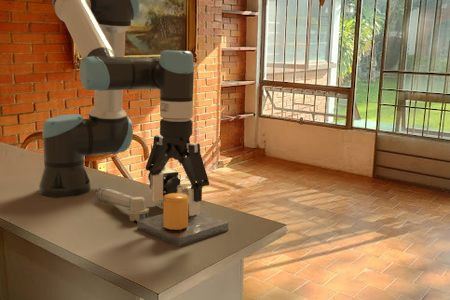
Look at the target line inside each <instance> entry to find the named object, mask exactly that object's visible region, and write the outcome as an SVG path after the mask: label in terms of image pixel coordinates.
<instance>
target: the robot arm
mask: <svg viewBox="0 0 450 300" xmlns="http://www.w3.org/2000/svg"><path fill="white" fill-rule="evenodd" d="M51 2H52V7H53V10H54V12H55V15H56V16H57V17H58V18H59V19H60V21H62V22H64V24H65V26H66V28H67V31H68V32H69V34H70V36H71V38H72V41H73V42H74V44H75V48H76V49H77V51H78V54H79V55H80V57H81V60H80V62H79V68H78V71H79V73H78V74H79V78H80V83H81V86H82V87H83V88H84V89H85V90H87V91H94V97H93V102H94V103H93V105H94V106H93V107H92V108H91V109H90V110H89V111H88V118H84V117H83V116H82V114H79V113H74V114H63V115H62V114H61V115H57V116H52V117H48V118H47V119H46V120H44V122H43V124H42V135H41V136H42V140H43V141H42V144H43V146H42V147H43V162H44V165H43V167H44V168H43V172H42V174H41V178H40V182H39V188H38V189H39V194H40V195H42V196H45V197H51V198H67V197H76V196H77V197H78V196H81V195H84V194H87V193H89V192H90V191H91V181H90V178H89V175H88V173H87V170H86V167H85V159H84V158H85V157H90V156H91V157H92V156H100V155H101V156H102V155H115V154H119V153H125V152H126V151H127V150H128V149H129V148H130V146H131V144H132V142H133V141H132V140H133V134H134V129H133V123H132V119H130V117H129V116H127V115H128V114H127V112H126V111H125V110H124V108H123V98H124V95H123V94H124V90H125V91H126V90H129V91H130V90H133V91H134V90H135V91H136V90H139V91H140V90H159V105H160V106H159V107H160V108H159V109H160V110H159V117H160V118H162V119H160V120H159V135H154V136H153V145H152V147H151V150H150V153H149V156H148V160H147V163H146V164H145V171H149V172H150V174H151V175H152V189H151V190H152V195H151V196H152V200H151V201H152V202H154V203H155V202H156V201H159V200H163V174H159V173H162V170H163V168H164V167H165V166H166V165H167V164H168V162H169V161H170V159H174V160H176V161H177V162H178V163H179V164H181V165H182V167H183V170H184V172H185V174H186V177H187V179H188V181H189V182H190V183H189V184H191V185H192V186H191V187H190V189H189V215H190V216H193V215H196V214H199V213H200V212H201V201H202V199H203V187H207V186H209V185H210V181H209V177H208V175H207V171H206V168H205V164H204V161H203V157H202V154H201V145H200V143H199V142H196V143H191V142H190V141H191V140H190V138H191V137H192V135H193V128H194V127H193V124H194V123H193V120H192V119H193V117H194V82H195V81H194V78H195V77H194V75H195V73H194V72H195V66H194V65H195V64H194V54H193V53H192V51H190V50H167V49H166V50H165V49H164V50H162V51H161V52H160V56H159V57H158V56H155V57H154V56H148V57H128V56H127V57H126V56H125V52H126V51H125V50H126V48H125V47H126V32H127V31H128V30H129V29H130V28H132V27H131V26H132V21H134V20H136V19H137V18H138V16H139V12H140V0H52V1H51Z"/></svg>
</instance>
